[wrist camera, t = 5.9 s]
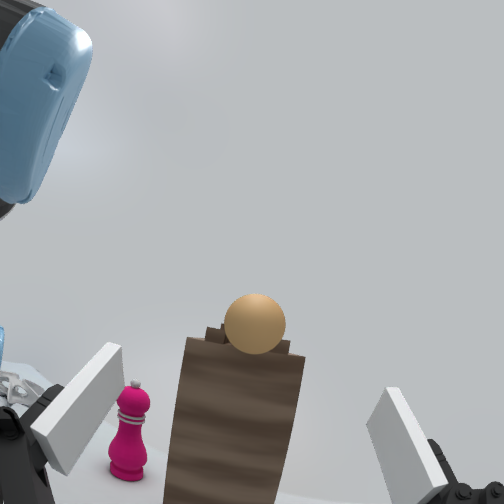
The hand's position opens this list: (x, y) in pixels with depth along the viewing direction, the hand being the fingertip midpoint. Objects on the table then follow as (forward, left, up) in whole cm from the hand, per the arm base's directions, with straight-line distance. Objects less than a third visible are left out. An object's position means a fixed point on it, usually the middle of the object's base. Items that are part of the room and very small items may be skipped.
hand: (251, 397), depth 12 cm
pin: (-11, +8, +2) cm, 14 cm away
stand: (-15, +12, -28) cm, 34 cm away
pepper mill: (-37, +9, -28) cm, 48 cm away
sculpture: (-67, -14, -28) cm, 74 cm away
